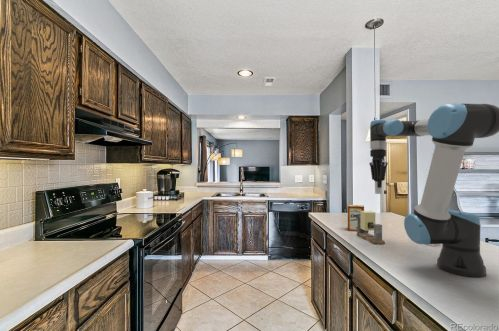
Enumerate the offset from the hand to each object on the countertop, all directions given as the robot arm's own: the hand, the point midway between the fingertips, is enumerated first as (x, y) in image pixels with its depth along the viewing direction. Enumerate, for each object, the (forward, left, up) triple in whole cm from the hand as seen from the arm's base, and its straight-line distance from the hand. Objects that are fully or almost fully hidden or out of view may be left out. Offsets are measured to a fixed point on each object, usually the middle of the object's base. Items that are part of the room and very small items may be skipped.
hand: (378, 193), depth 137 cm
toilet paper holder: (+7, 0, -26) cm, 27 cm away
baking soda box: (+27, -2, -27) cm, 38 cm away
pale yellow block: (+10, 0, -21) cm, 23 cm away
